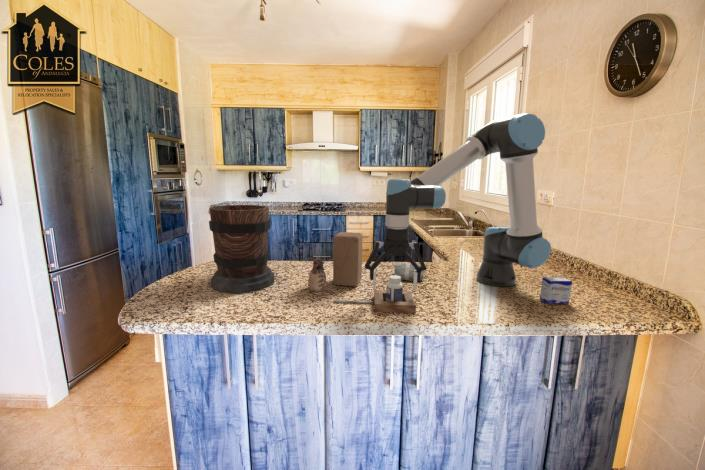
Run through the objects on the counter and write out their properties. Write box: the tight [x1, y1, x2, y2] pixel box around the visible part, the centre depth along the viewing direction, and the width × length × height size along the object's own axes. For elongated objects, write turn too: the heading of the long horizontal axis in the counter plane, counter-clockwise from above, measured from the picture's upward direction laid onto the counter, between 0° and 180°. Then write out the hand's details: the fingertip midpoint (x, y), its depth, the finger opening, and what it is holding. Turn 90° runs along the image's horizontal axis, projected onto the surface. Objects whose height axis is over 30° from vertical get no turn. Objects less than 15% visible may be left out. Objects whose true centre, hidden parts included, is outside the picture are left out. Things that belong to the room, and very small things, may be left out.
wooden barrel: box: [208, 204, 275, 294], centre depth 130 cm, size 24×30×30 cm
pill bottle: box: [385, 274, 404, 302], centre depth 110 cm, size 5×5×10 cm
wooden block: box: [332, 231, 363, 288], centre depth 130 cm, size 10×10×20 cm
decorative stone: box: [394, 261, 425, 282], centre depth 139 cm, size 13×10×6 cm
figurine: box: [307, 257, 328, 293], centre depth 123 cm, size 7×7×12 cm
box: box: [539, 276, 573, 305], centre depth 114 cm, size 8×4×9 cm, turn 94°
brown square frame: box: [333, 289, 417, 314], centre depth 111 cm, size 27×13×2 cm, turn 87°
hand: (394, 289), depth 110 cm, fingers open, 13 cm apart
